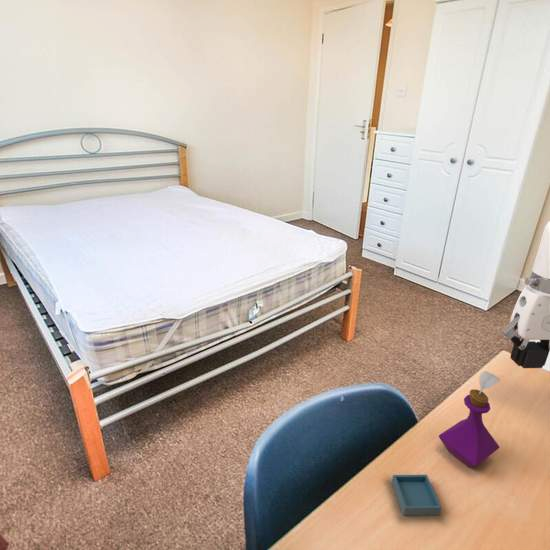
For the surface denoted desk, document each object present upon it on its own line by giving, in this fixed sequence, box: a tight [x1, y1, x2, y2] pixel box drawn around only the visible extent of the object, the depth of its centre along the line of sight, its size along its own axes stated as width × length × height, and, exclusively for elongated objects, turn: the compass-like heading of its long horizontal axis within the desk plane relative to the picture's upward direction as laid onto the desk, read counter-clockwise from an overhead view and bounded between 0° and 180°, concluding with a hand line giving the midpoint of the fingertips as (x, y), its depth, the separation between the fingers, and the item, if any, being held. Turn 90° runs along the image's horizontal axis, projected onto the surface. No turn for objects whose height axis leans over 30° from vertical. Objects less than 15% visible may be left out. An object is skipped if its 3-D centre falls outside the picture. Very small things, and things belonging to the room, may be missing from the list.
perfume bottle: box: [438, 370, 501, 468], centre depth 67 cm, size 8×8×18 cm
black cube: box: [521, 340, 547, 369], centre depth 80 cm, size 4×4×4 cm
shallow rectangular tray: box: [391, 474, 442, 517], centre depth 62 cm, size 6×6×2 cm
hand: (527, 361), depth 81 cm, fingers closed on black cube, 4 cm apart
